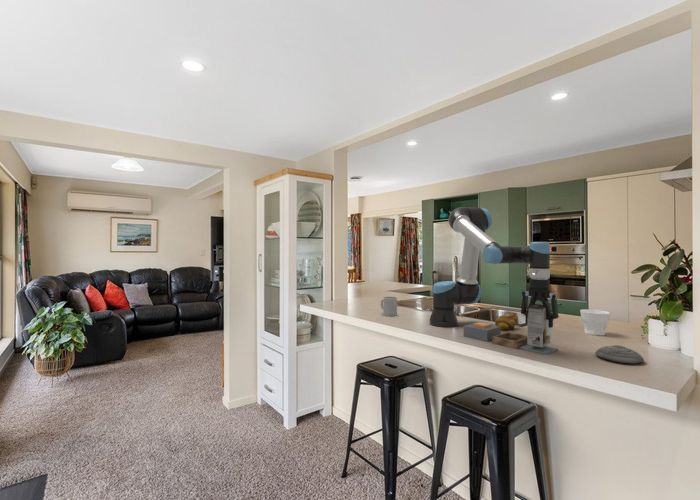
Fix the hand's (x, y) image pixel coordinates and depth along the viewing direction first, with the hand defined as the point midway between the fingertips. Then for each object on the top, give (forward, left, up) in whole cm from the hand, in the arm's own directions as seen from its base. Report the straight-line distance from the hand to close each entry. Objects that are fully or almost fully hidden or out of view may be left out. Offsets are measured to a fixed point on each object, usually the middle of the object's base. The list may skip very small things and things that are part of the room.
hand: (538, 333), depth 150 cm
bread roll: (-28, +25, -7) cm, 39 cm away
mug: (-92, +3, -7) cm, 92 cm away
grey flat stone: (+25, +11, -7) cm, 28 cm away
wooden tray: (-11, 0, -7) cm, 13 cm away
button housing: (-26, 0, -7) cm, 27 cm away
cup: (+5, +51, -7) cm, 52 cm away
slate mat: (0, 0, -7) cm, 7 cm away
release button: (-26, 0, -6) cm, 27 cm away
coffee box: (0, 0, -5) cm, 5 cm away
